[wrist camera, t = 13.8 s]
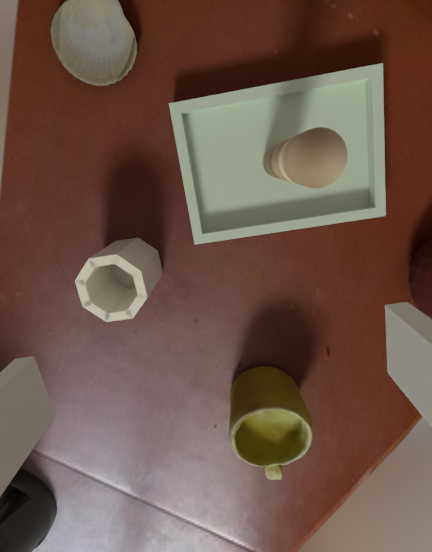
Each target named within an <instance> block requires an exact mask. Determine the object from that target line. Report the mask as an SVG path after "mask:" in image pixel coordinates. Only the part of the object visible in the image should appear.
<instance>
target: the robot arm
mask: <svg viewBox="0 0 432 552" xmlns="http://www.w3.org/2000/svg"><path fill="white" fill-rule="evenodd" d="M385 318H386V345H387V372H388V374H389V375H390V376H391V378H392V379H393V380H394V381H395V383H396V384H397V385H398V386H399V388H400V389H401V390H402V391H403V392H404V394H405V395H406V396H407V397H408V399H409V400H410V401H411V402H412V404H413V405H414V406H415V407H416V409H417V410H418V411H419V412H420V414H421V415H422V416H423V417H424V419H425V420H426V421H427V422H428V424H429V425H430V426H431V427H432V319H430V318H429V317H427V316H426V315H425V314H423V313H422V312H420V311H419V310H418V309H416V308H415V307H414V306H412V305H411V304H409V303H408V302H403V303H396V304H389V305H385ZM54 418H55V413H54V411H53V408H52V405H51V402H50V399H49V396H48V394H47V391H46V388H45V385H44V382H43V380H42V377H41V374H40V371H39V368H38V365H37V363H36V360H35V357H34V356H32V357H25V358H18V359H15V360H13V361H12V362H11V363H10V364H9V365H8V366H7V367H6V368H5V369H3V370H2V371H1V372H0V552H32V551H33V550H34V549H35V548H37V547H38V546H39V545H40V544H41V543H42V542H43V540H44V539H45V538H46V536H47V534H48V532H49V530H50V528H51V526H52V524H53V522H54V520H55V517H56V505H55V501H54V499H53V496H52V495H51V493H50V491H49V490H48V489H47V488H46V486H45V485H44V484H43V483H42V482H41V481H39V480H38V479H37V478H35V477H34V476H32V475H31V474H29V473H27V472H25V471H23V470H20V467H21V466H22V464H23V463H24V461H25V460H26V459H27V457H28V456H29V454H30V453H31V451H32V450H33V448H34V447H35V446H36V444H37V443H38V441H39V440H40V438H41V437H42V435H43V434H44V432H45V431H46V430H47V428H48V427H49V425H50V424H51V422H52V421H53V419H54Z"/></svg>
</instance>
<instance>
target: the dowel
mask: <svg viewBox="0 0 432 552" xmlns="http://www.w3.org/2000/svg"><path fill="white" fill-rule="evenodd" d="M346 163H347V148H346V144H345V142H344V140H343V139H342V137H341V136H340V135H339V134H338V133H337V132H335V131H333V130H331V129H329V128H324V127H317V128H312V129H310V130H307V131H305V132H303V133H301V134H299V135H296V136H294V137H292V138H290V139H288V140H286V141H284V142H281V143H279V144H277V145H275V146H273V147H271V148H269V149H268V150H267V151H266V153H265V155H264V157H263V167H264V170H265V171H266V173H267V174H268V175H270V176H272V177H275V178H278V179H282V180H285V181H288V182H292V183H295V184H299V185H302V186H305V187H309V188H322V187H326V186H328V185H330V184H332V183H333V182H335V181H336V180H337V179H338V178H339V177H340V175H341V174H342V173H343V171H344V169H345V166H346Z"/></svg>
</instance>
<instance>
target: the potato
mask: <svg viewBox="0 0 432 552" xmlns="http://www.w3.org/2000/svg"><path fill="white" fill-rule="evenodd" d="M409 285H410V290H411V296H412V298H413V300H414V301H415V303H416V305H417V306H418V308H419V309H420V310H421V311H422V312H424V313H425V314H427V315H429V316H431V317H432V237H431V238H429V239H428V240H427V241H425V242H424V243H423V244H422V245H421V246H420V247H419V249H418V250H417V251H416V252H415V255H414V257H413V259H412V261H411V263H410V272H409Z"/></svg>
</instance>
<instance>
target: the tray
mask: <svg viewBox="0 0 432 552" xmlns="http://www.w3.org/2000/svg"><path fill="white" fill-rule="evenodd" d="M169 107H170V113H171V118H172V124H173V129H174V134H175V140H176V145H177V151H178V156H179V162H180V167H181V173H182V178H183V184H184V189H185V194H186V200H187V205H188V211H189V216H190V222H191V227H192V233H193V238H194V244H202V243H208V242H215V241H222V240H228V239H235V238H242V237H248V236H255V235H262V234H268V233H275V232H282V231H288V230H295V229H302V228H308V227H315V226H322V225H328V224H335V223H342V222H348V221H355V220H362V219H368V218H375V217H382V216H386V195H385V143H384V91H383V63H380V64H375V65H370V66H365V67H359V68H354V69H349V70H343V71H338V72H333V73H327V74H322V75H317V76H312V77H306V78H301V79H296V80H290V81H285V82H280V83H274V84H269V85H264V86H259V87H253V88H248V89H243V90H237V91H232V92H227V93H221V94H216V95H211V96H206V97H200V98H195V99H190V100H184V101H179V102H174V103H169ZM317 127H324V128H329V129H331V130H333V131H335V132H337V133H338V134H339V135H340V136H341V137H342V139H343V140H344V142H345V144H346V148H347V163H346V166H345V169H344V171H343V173H342V174H341V175H340V177H339V178H338V179H337V180H336V181H335V182H333V183H332V184H330V185H328V186H326V187H322V188H309V187H305V186H302V185H299V184H295V183H292V182H288V181H285V180H282V179H278V178H275V177H272V176H270V175H268V174H267V173H266V171H265V170H264V167H263V157H264V155H265V153H266V151H267V150H268V149H269V148H271V147H273V146H275V145H277V144H279V143H281V142H284V141H286V140H288V139H290V138H292V137H294V136H296V135H299V134H301V133H303V132H305V131H307V130H310V129H312V128H317Z"/></svg>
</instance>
